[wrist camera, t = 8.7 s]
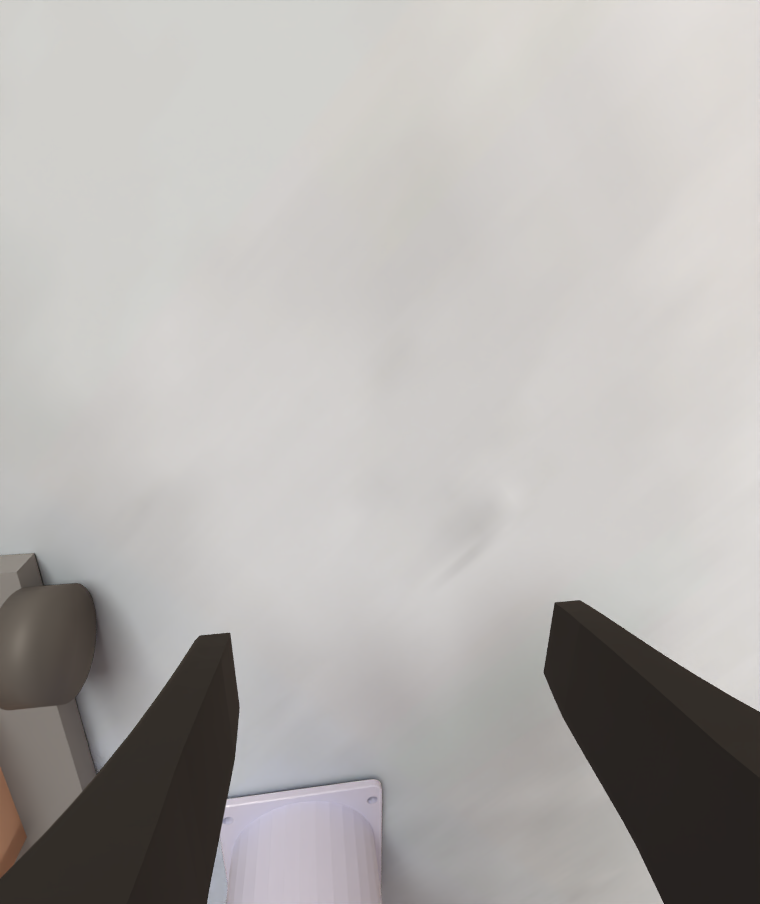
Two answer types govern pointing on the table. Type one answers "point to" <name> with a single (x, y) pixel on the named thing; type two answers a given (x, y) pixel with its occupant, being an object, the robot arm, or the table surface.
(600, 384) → the table surface
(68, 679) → the chassis
